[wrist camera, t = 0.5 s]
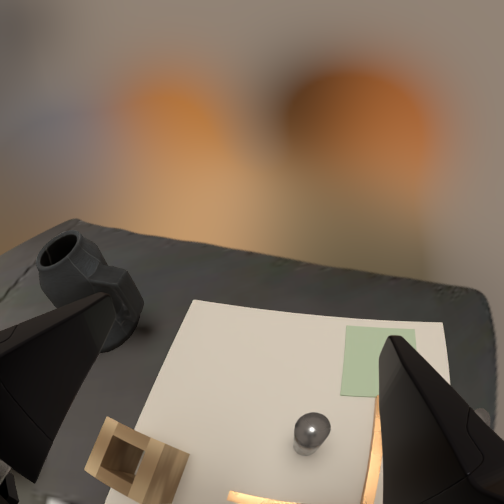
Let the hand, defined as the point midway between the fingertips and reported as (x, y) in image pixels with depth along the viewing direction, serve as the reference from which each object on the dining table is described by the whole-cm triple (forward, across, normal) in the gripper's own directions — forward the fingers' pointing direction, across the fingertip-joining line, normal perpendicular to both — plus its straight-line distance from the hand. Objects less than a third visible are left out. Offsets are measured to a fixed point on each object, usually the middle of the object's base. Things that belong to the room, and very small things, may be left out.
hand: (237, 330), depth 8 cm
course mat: (+4, -4, +15) cm, 16 cm away
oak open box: (-1, +7, +17) cm, 18 cm away
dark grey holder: (+13, +17, +15) cm, 26 cm away
